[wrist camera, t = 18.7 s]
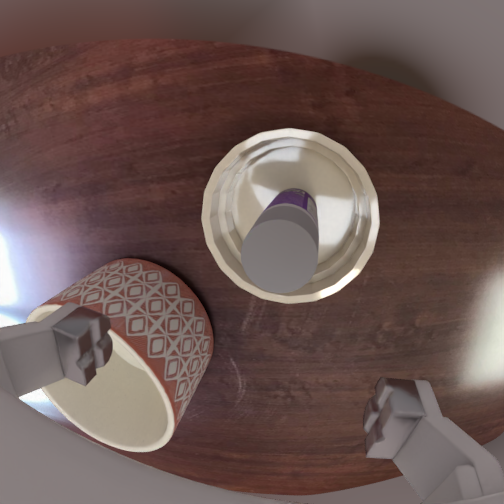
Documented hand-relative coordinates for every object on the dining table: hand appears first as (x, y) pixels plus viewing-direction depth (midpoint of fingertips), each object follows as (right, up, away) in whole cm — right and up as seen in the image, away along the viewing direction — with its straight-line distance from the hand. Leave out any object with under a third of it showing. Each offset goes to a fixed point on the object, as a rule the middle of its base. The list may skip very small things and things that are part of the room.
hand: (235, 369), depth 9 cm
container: (+5, +7, +24) cm, 25 cm away
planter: (-13, -6, +32) cm, 36 cm away
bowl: (+5, +8, +24) cm, 26 cm away
